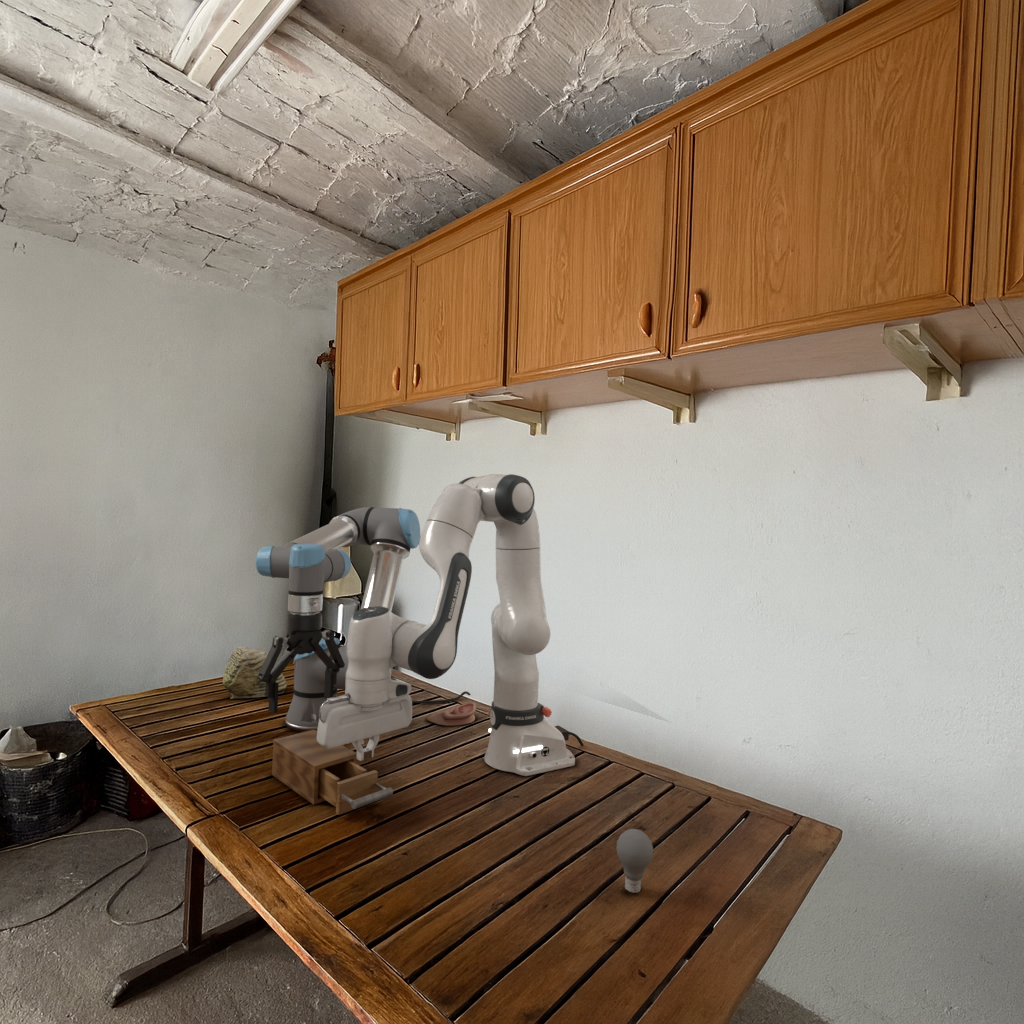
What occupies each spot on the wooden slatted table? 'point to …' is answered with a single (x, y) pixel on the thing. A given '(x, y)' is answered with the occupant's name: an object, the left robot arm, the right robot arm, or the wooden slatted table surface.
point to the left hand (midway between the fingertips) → (301, 705)
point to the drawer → (350, 786)
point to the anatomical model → (455, 715)
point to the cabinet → (305, 762)
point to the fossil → (247, 674)
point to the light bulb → (634, 857)
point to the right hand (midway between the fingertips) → (365, 758)
